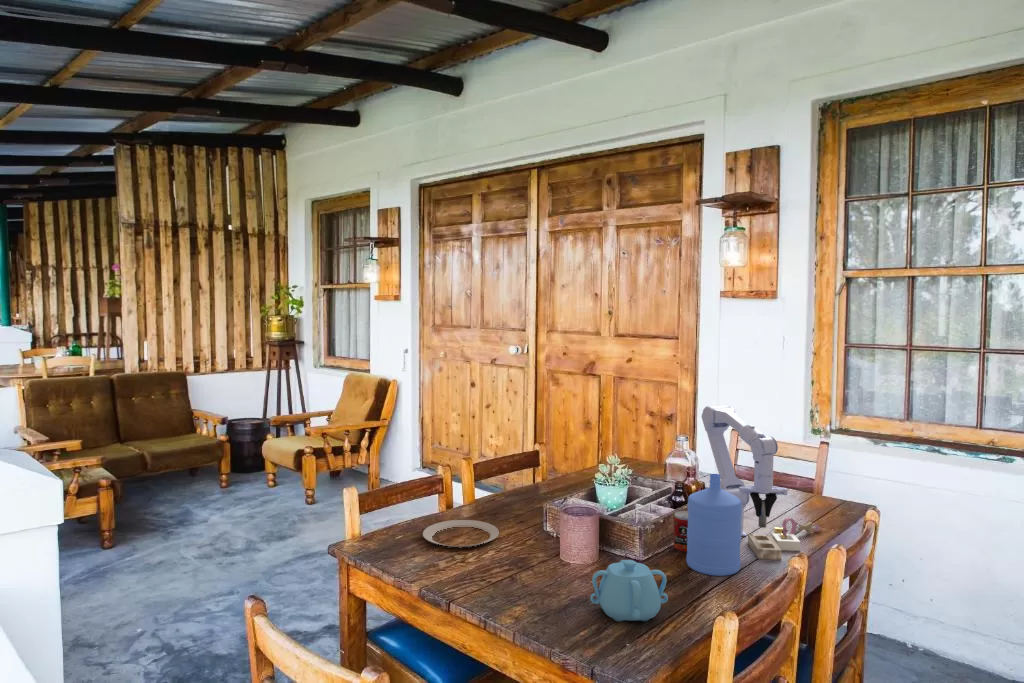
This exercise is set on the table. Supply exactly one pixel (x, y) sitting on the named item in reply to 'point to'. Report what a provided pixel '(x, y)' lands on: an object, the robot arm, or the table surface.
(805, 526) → the decorative key
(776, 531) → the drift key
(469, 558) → the table surface
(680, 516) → the canned food
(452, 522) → the plate
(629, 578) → the decorative pot
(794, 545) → the socket block
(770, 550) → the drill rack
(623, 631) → the table surface
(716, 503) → the water jug
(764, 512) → the drill bit
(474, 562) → the table surface
